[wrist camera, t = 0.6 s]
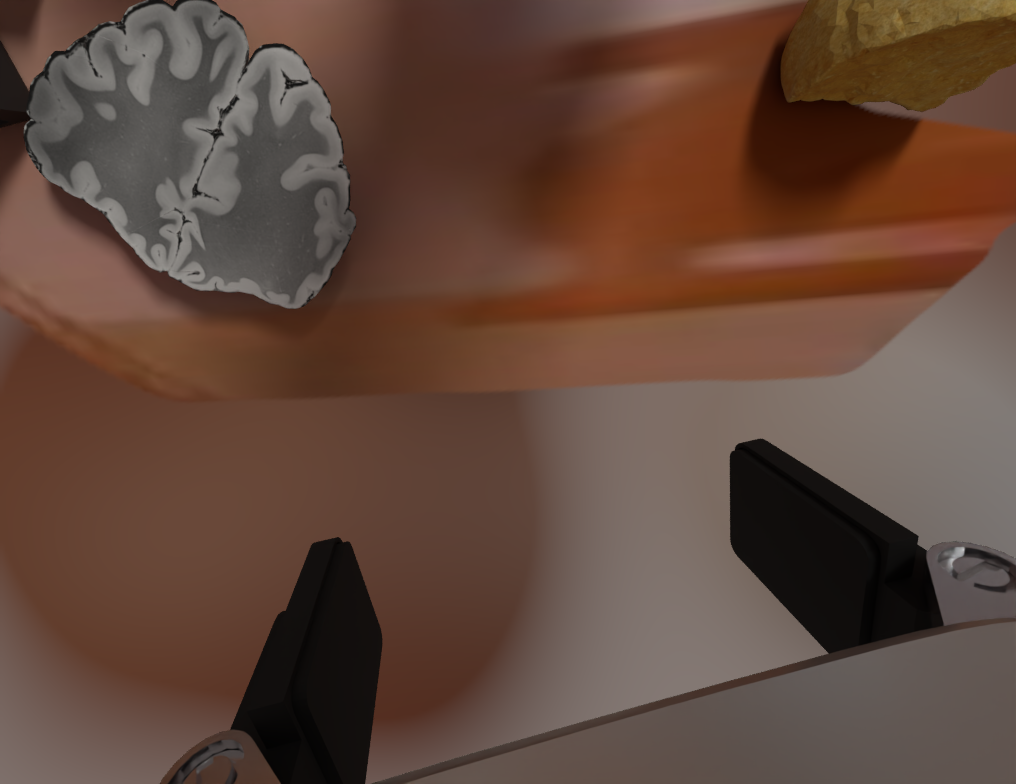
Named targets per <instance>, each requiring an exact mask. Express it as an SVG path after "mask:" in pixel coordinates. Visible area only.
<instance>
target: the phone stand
mask: <svg viewBox="0 0 1016 784" xmlns="http://www.w3.org/2000/svg"><path fill="white" fill-rule="evenodd" d="M28 97H29V91H28V89H27V87H26V85H25V84H24V82H23V80H22V78H21V76H20V75H19V73H18V71H17V69H16V68H15V66H14V64H13V62H12V60H11V59H10V57H9V55H8V53H7V52H6V50H5V48H4V46H3V44H2V43H1V41H0V128H2V127H5V126H9V125H12V124H16V123H19V122H23V121H27V120H30V119H31V118H30V116H29V115H28V113H27V109H26V106H27V102H28Z"/></svg>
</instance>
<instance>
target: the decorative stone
mask: <svg viewBox="0 0 1016 784" xmlns="http://www.w3.org/2000/svg"><path fill="white" fill-rule="evenodd" d="M1015 63H1016V0H808V2H807V4H806V6H805V8H804V10H803V12H802V14H801V16H800V17H799V19H798V21H797V22H796V24H795V26H794V28H793V30H792V32H791V34H790V36H789V38H788V41H787V43H786V46H785V49H784V52H783V54H782V59H781V84H782V87H783V90H784V95H785V98H786V101H787V102H789V103H790V102H794V101H799V100H800V99H801V100H802V101H810V102H811V101H815V100H821V99H824V100H833V101H840V100H845V101H846V102H848V103H850V104H851V105H858V104H862V103H864V102H885V101H890V102H892V103H895V104H898V105H901V106H903V107H905V108H906V109H907V110H915V111H920V112H923V111H926V110H928V109H932V108H936V107H938V106H939V105H941V104H943V103H944V102H945V101H946V100H947V99H948V97H950V96H953V95H957V94H961V93H965V92H968V91H971V90H974V89H976V88H977V87H979V86H980V85H982V84H983V83H984V82H985V81H986V80H987V79H988V77H989V76H990V75H991V74H993V73H995V72H997V71H998V70H1000V69H1003V68H1006V67H1009V66H1011V65H1013V64H1015Z"/></svg>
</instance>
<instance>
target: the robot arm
mask: <svg viewBox="0 0 1016 784" xmlns="http://www.w3.org/2000/svg"><path fill="white" fill-rule="evenodd" d="M730 540H731V545H732V548H733V550H734V552H735V554H736V555H737V556H738V557H739V558H740V559H741V560H742V561H743V562H744V564H745V565H746V566H747V567H748V568H749V569H750V570H751V571H752V572H753V573H754V574H755V575H756V576H757V577H758V578H759V580H760V581H761V582H762V583H763V584H764V585H765V586H766V587H767V588H768V589H769V590H770V591H771V592H772V593H773V594H774V596H775V597H776V598H777V599H778V600H779V601H780V602H781V603H782V604H783V605H784V606H785V607H786V608H787V609H788V611H789V612H790V613H791V614H792V615H793V616H794V617H795V618H796V619H797V620H798V621H799V622H800V623H801V624H802V625H803V626H804V627H805V629H806V630H807V631H808V632H809V633H810V634H811V635H812V636H813V637H814V638H815V639H816V640H817V641H818V643H819V644H820V645H821V646H822V647H823V648H824V649H825V650H826V651H827V652H828V653H829V654H826V655H823V656H819V657H815V658H812V659H808V660H804V661H800V662H797V663H793V664H789V665H786V666H782V667H778V668H775V669H771V670H767V671H764V672H761V673H756V674H753V675H749V676H746V677H742V678H738V679H734V680H731V681H727V682H723V683H720V684H716V685H713V686H709V687H705V688H702V689H699V690H695V691H691V692H687V693H684V694H680V695H677V696H673V697H670V698H666V699H662V700H658V701H655V702H651V703H648V704H644V705H641V706H637V707H634V708H630V709H626V710H623V711H619V712H616V713H612V714H609V715H605V716H601V717H598V718H594V719H591V720H587V721H583V722H580V723H577V724H573V725H569V726H566V727H562V728H559V729H555V730H552V731H549V732H545V733H542V734H538V735H534V736H531V737H528V738H524V739H521V740H517V741H514V742H510V743H506V744H503V745H500V746H496V747H493V748H489V749H486V750H482V751H478V752H475V753H471V754H468V755H464V756H461V757H457V758H454V759H451V760H448V761H444V762H441V763H438V764H435V765H431V766H428V767H425V768H422V769H418V770H415V771H411V772H408V773H405V774H402V775H399V776H395V777H392V778H389V779H385V780H382V781H379V782H375V783H372V784H1016V558H1014V557H1012V556H1010V555H1008V554H1006V553H1004V552H1001V551H998V550H995V549H992V548H990V547H987V546H982V545H977V544H973V543H966V542H956V541H954V542H942V543H939V544H936V545H933V546H932V547H931V548H930V549H929V550H928V551H927V550H925V549H923V548H922V547H920V546H919V545H917V542H918V536H917V535H916V534H914V533H913V532H911V531H910V530H908V529H907V528H905V527H903V526H902V525H900V524H899V523H897V522H895V521H894V520H892V519H891V518H889V517H887V516H885V515H884V514H883V513H881V512H879V511H878V510H876V509H875V508H873V507H871V506H870V505H868V504H867V503H865V502H863V501H862V500H860V499H858V498H857V497H855V496H854V495H852V494H851V493H849V492H847V491H846V490H844V489H843V488H841V487H840V486H838V485H836V484H834V483H833V482H831V481H830V480H828V479H827V478H825V477H823V476H822V475H820V474H819V473H817V472H815V471H814V470H812V469H811V468H809V467H807V466H806V465H804V464H803V463H801V462H800V461H798V460H796V459H795V458H793V457H792V456H790V455H788V454H787V453H785V452H783V451H782V450H780V449H779V448H777V447H776V446H774V445H772V444H771V443H769V442H768V441H766V440H764V439H757V440H752V441H748V442H743V443H739V444H738V445H736V447H735V451H732V452H731V454H730ZM381 652H382V633H381V629H380V625H379V623H378V620H377V617H376V614H375V611H374V608H373V606H372V602H371V600H370V597H369V594H368V591H367V589H366V586H365V582H364V580H363V577H362V574H361V571H360V569H359V565H358V562H357V560H356V557H355V554H354V551H353V548H352V546H351V544H350V542H342V540H341V539H340V538H339V537H337V538H332V539H328V540H324V541H319V542H316V543H313V544H312V545H311V548H310V550H309V553H308V555H307V558H306V560H305V563H304V565H303V568H302V570H301V573H300V576H299V578H298V581H297V583H296V586H295V588H294V591H293V594H292V596H291V599H290V601H289V604H288V606H287V609H286V611H282V612H281V613H280V614H278V616H277V618H276V620H275V621H274V624H273V626H272V629H271V631H270V634H269V636H268V639H267V641H266V643H265V646H264V648H263V651H262V653H261V656H260V658H259V660H258V663H257V665H256V668H255V670H254V673H253V675H252V678H251V680H250V682H249V685H248V687H247V690H246V692H245V695H244V697H243V700H242V702H241V704H240V707H239V709H238V712H237V714H236V717H235V719H234V722H233V724H232V727H231V729H230V730H229V731H223V732H219V733H217V734H215V735H213V736H210V737H208V738H206V739H205V740H203V741H201V742H200V743H199V744H197V745H196V746H194V747H193V748H191V749H190V750H189V751H187V753H185V754H184V755H183V756H182V757H181V758H180V759H179V760H178V761H177V762H176V763H175V764H174V765H173V766H172V768H171V769H170V770H169V771H168V772H167V774H166V775H165V776H164V777H163V779H162V780H161V782H160V784H365V780H366V772H367V764H368V756H369V748H370V740H371V732H372V724H373V715H374V708H375V700H376V691H377V683H378V676H379V667H380V659H381Z"/></svg>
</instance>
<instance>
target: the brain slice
mask: <svg viewBox="0 0 1016 784" xmlns="http://www.w3.org/2000/svg"><path fill="white" fill-rule="evenodd" d="M26 109H27V113H28V115H29V116H30V118H31V120H30V121H29V122H27V124H26V125H25V127H24V141H25V145H26V150H27V152H28V154H29V156H30V158H31V160H32V161H33V163H34V165H35V166H36V168H37V169H38V170H39V172H40V173H41V174H42V175H43V176H44V177H45V178H46V179H47V180H48V181H49V182H52V183H54V184H56V185H58V186H59V187H61V188H62V189H63V190H64V191H65V192H67V193H69V194H71V195H72V196H74V197H78V198H80V199H82V200H84V201H85V202H87V203H88V204H90V205H91V206H93V207H94V208H96V209H97V210H99V211H100V212H102V213H103V214H104V215H105V216H106V218H107V219H108V221H109V222H110V223H111V225H112V226H113V227H114V229H115V230H116V231H117V232H118V234H119V235H120V236H121V237H122V238H123V239H124V240H125V241H126V242H127V243H128V244H129V245H130V246H131V247H132V248H133V249H134V251H135V253H136V254H137V255H138V256H139V257H140V258H141V259H142V260H143V261H144V262H145V263H146V264H147V265H148V266H149V267H150V268H152V269H154V270H157V271H159V272H165V271H168V275H169V277H171V278H174V279H176V280H178V281H180V282H181V283H183V284H185V285H187V286H189V287H191V288H193V289H195V290H198V291H213V290H214V291H221V292H230V293H234V292H243V293H248V294H253V295H255V296H257V297H259V298H260V299H262V300H264V301H266V302H268V303H270V304H276V305H280V306H282V307H285V308H290V309H297V308H300V307H303V306H305V305H306V304H307V303H308V302H309V301H310V300H311V299H312V298H314V297H315V296H316V295H317V294H318V293H319V291H320V290H321V289H322V288H323V287H324V286H325V285H326V283H327V282H328V280H329V279H330V277H331V275H332V272H333V269H334V267H335V266H336V265H337V263H338V262H339V260H340V258H341V256H342V254H343V253H344V251H345V249H346V247H347V245H348V243H349V241H350V239H351V234H352V233H353V231H354V229H355V227H356V217H355V215H354V213H353V212H352V211H351V210H350V209H349V206H350V174H349V173H348V171H347V168H346V165H344V164H343V159H342V158H343V154H344V150H343V141H342V138H341V136H340V133H339V130H338V127H337V125H336V123H335V122H334V120H333V118H332V117H331V104H330V101H329V99H328V97H327V95H326V93H325V91H324V90H323V88H322V87H321V86H320V84H319V83H318V81H316V80H315V79H314V78H313V77H312V75H311V72H310V70H309V68H308V66H307V64H306V63H305V61H304V60H303V59H302V58H301V57H300V56H299V55H298V54H297V52H296V51H295V50H294V49H292V48H290V47H288V46H286V45H284V44H277V43H275V44H266V45H262V46H261V47H260V48H258V49H257V50H255V52H254V53H253V55H252V57H251V58H250V60H249V46H248V41H247V37H246V34H245V31H244V28H243V25H242V24H241V23H240V22H239V21H238V20H236V18H235V17H234V16H232V15H230V14H228V13H226V12H224V11H222V10H221V9H220V8H219V7H218V5H217V4H216V2H214V1H212V0H177V1H176V3H175V4H174V5H173V6H171V5H169V4H168V3H166V2H165V1H163V0H146V1H143V2H140V3H138V4H135V5H133V6H131V7H129V8H128V10H127V11H126V13H125V14H124V16H123V18H122V20H121V22H111V21H109V22H105V23H102V24H99V25H97V26H96V27H95V28H94V29H93V30H92V31H90V32H89V33H88V34H87V35H85V36H84V37H82V38H80V39H78V40H76V41H75V42H74V43H73V44H72V45H71V46H70V47H69V48H68V49H67V50H66V51H55V52H54V53H53V54H52V55H51V56H50V57H49V58H48V59H47V62H46V64H45V67H44V69H43V71H42V72H41V73H40V74H39V75H37V76H36V77H35V78H34V79H33V81H32V83H31V85H30V90H29V97H28V102H27V106H26Z"/></svg>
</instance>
